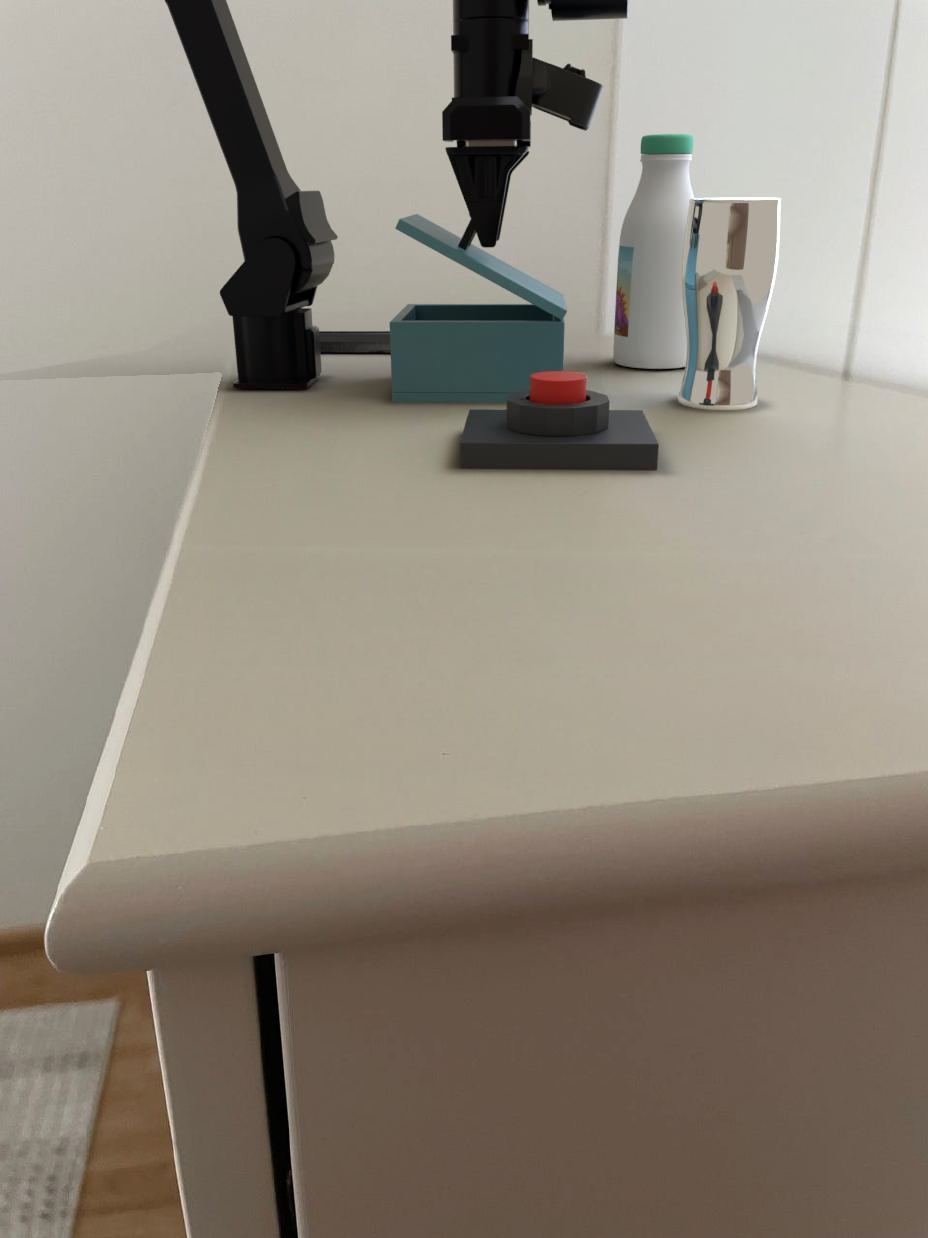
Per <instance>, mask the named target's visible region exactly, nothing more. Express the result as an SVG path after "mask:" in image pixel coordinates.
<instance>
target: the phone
mask: <svg viewBox="0 0 928 1238" xmlns="http://www.w3.org/2000/svg"><path fill="white" fill-rule="evenodd" d="M319 338H320V353H391V349H390V330H387V331H386V330H385V331H384V330H383V331H382V330H381V331H380V330H379V331H378V330H377V331H376V330H373V331H370V330H367V331H366V330H357V331H356V330H355V331H354V330H351V331H350V330H349V331H347V330H345V331H344V330H341V331H340V330H339V331H336V330H329V331H328V330H322V331H321V330H319Z"/></svg>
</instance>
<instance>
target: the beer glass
mask: <svg viewBox="0 0 928 1238" xmlns="http://www.w3.org/2000/svg"><path fill="white" fill-rule="evenodd" d="M694 198H695V197H694ZM781 202H782V198H780V197H698V198H697V197H696V198H695V199H690V200H689V210H688V217H687V223H686V230H685V238H684V246H683V257H682V295H683V306H684V316H685V326H686V339H687V358H686V367H684V373H683V377H682V380H681V385H680V389H679V392H678V398H677V401H678V403H679V404H680V405H682V406H684V407H687V408H693V409H699V410H706V411H740V410H748V409H751V408H755V407H756V406H757V405H758V388H757V387H758V386H757V372H756V371H757V370H756V368H757V356H758V350H759V344H760V341H761V340H760V339H761V336H762V332H763V329H764V326H765V321H766V318H767V314H768V310H769V306H770V302H771V299H772V295H773V290H774V287H775V283H776V282H775V281H776V276H777V269H778V262H779V251H780V234H781V233H780V231H781Z"/></svg>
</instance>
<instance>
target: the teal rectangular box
mask: <svg viewBox="0 0 928 1238" xmlns="http://www.w3.org/2000/svg"><path fill="white" fill-rule="evenodd" d="M565 326H566V324H565V317H564V318H563V320H561V319H559V318H557V317H555V316H553V315H552V314H550V313H548V312H546V311H544V310H542V309H541V308H539V307H537V306H535V305H533V304H532V303H407V304H406V305H405V306H404V307H403V308H402V309H401V310H400V311H399V312H398V313H397V314H396V315H395V316H394V317H393V318H392V319H390V321H389V331H390V349H391V352H390V371H391V372H390V373H391V376H390V378H391V401H392V403H507V396H508V395H509V394H513V393H516V392H519V391H522V390H530V376H531V375H532V374H534V373H539V372H548V371H564V364H565V363H564V360H565V359H564V357H565V329H566V328H565Z"/></svg>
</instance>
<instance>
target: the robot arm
mask: <svg viewBox="0 0 928 1238" xmlns="http://www.w3.org/2000/svg"><path fill="white" fill-rule="evenodd" d="M164 2H165V4H166V6H167V8H168V11H169V14H170V17H171V19H172V22H173V25H174V27H175V30H176V32H177V35H178V38H179V41H180V43H181V46H182V48H183V51H184V53H185V56H186V59H187V61H188V65H189V66H190V69H191V72H192V74H193V77H194V80H195V83H196V85H197V89H198V90H199V93H200V96H201V99H202V101H203V104H204V106H205V110H206V112H207V114H208V117H209V120H210V122H211V125H212V128H213V130H214V133H215V137H216V139H217V141H218V143H219V146H220V150H221V151H222V154H223V157H224V159H225V162H226V165H227V168H228V170H229V173H230V176H231V178H232V181H233V183H234V184H233V185H234V187H235V191H236V216H237V217H236V218H237V219H236V220H237V233H238V237H239V243H240V247H241V251H242V256H243V260H244V261H243V262H242V263H241V264H240V266H239V267H238V268H237V269H236V270H235V272H234V273H233V274H232V275H231V277H230V278H228V280H227V281H226V283H224V285H222V287H221V288H220V290H219V296H220V298H221V300H222V302H223V305H224V307H225V309H226V312H227V315H229V317H232V326H233V327H232V328H233V336H234V348H235V359H236V361H235V362H236V371H237V379H235V380H234V381H233V382H232V388H233V389H307V388H309V387H311V385H312V384H313V383H314V382H315V381H317V380H318V379H319V378H320V377H321V374H322V357H321V355H322V354H321V352H320V338H319V331H320V328H319V326H317V325H313V314H312V313H313V312H312V308H309V307H310V306H312V305H313V304H314V301H315V296H316V293H317V289H318V286H320V285H322V284H323V283H324V281H325V280H327V278H328V277H329V276H330V273H331V271H332V269H333V267H334V266H333V265H334V264H335V250H334V249H335V248H334V245H333V243H332V241H336V240H338V239H339V237H338V235H337V233H335V231H334V229H332V227H331V225H330V223H329V220H328V218H327V214H326V209H325V204H324V199H323V196H322V194H321V193H322V192H321V191H320V190H301V189H300V188H299V186H298V185H297V184H296V182H295V181H294V179H293V178H292V176H291V175H290V173H289V171H288V169H287V166H286V163H285V160H284V157H283V155H282V152H281V149H280V146H279V143H278V141H277V138H276V135H275V133H274V129H273V126H272V124H271V121H270V119H269V116H268V113H267V110H266V107H265V105H264V102H263V99H262V96H261V94H260V91H259V88H258V86H257V82H256V80H255V77H254V74H253V71H252V68H251V65H250V63H249V59H248V56H247V54H246V52H245V48H244V46H243V43H242V41H241V38H240V35H239V32H238V29H237V27H236V24H235V21H234V18H233V15H232V12H231V10H230V8H229V5H228V2H227V0H164ZM536 2H537V5H538V7H540V6H541V7H543V6H545V7H546V5H548V10H550V12H551V19H552V21H553V22H564V21H565V22H566V21H594V20H595V21H596V20H621V19H622V20H623V19H624V20H625V19H628V18H629V12H630V11H629V10H630V0H536ZM533 44H534V39H533V38H530V0H452V34H451V35H450V51H451V53H452V55H453V58H452V60H453V96H452V97H451V101H450V102H449V104H448V105H447V106H445V108H444V109H443V110H442V111H441V122H442V123H441V125H442V127H441V128H442V130H441V131H442V141H443V142H445V143H453V142H454V141H456V146H448V147H447V146H446V147H444V148H445V153H446V155H447V157H448V161H449V163H450V165H451V168H452V170H453V173H454V176H455V179H456V181H457V184H458V187H459V189H460V192H461V195H462V198H463V200H464V202H465V205H466V208H467V211H468V215H469V214H470V216H469V218H470V217H471V218H470V220H471V219H472V222H473V225H474V228H475V230H476V236H477V238H478V241H479V244H480V246H481V248H485V249H487V248H488V249H489V248H495V247H496V245H497V242H499V240H500V238H501V233H502V227H503V222H504V217H505V211H506V206H507V200H508V195H509V190H510V184H511V179H512V175H513V173H514V171H515V170H517V168H518V167H519V166H520V165H521V164H522V162H524V160H525V159H526V158H528V156H529V154H530V151H529V149H530V148H531V145H532V144H531V143H532V141H531V140H532V131H531V130H532V120H531V118H532V117H531V116H533V114H532V113H533V108H534V109H535V110H538V111H541V112H544V113H546V114H548V115H551V116H553V117H555V118H558V119H561V120H564V121H566V122H568V125H569V126H570V127H573V128H576V129H579V130H582V131H584V132H585V131H586V132H587V131H588V130H589V128H590V126H591V122H592V119H593V117H594V115H595V112H596V109H597V106H598V104H599V101H600V98H601V95H602V92H603V90H604V85H603V84H601V83H599V82H598V81H595V80H593V79H592V78H588V77H587V76H586V75H587V74H586V69H584V68H582V69H580V68H577V67H575V66H573V65H572V63H567V64H566V65H565V66H564V67H563V68H562V67H561V66H558V65H555V64H553V63H549V62H547V61H544V60H542V59H540V58H536V57H533V55H534V54H533V53H534V52H533V51H534V45H533ZM305 307H306V308H305Z"/></svg>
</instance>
